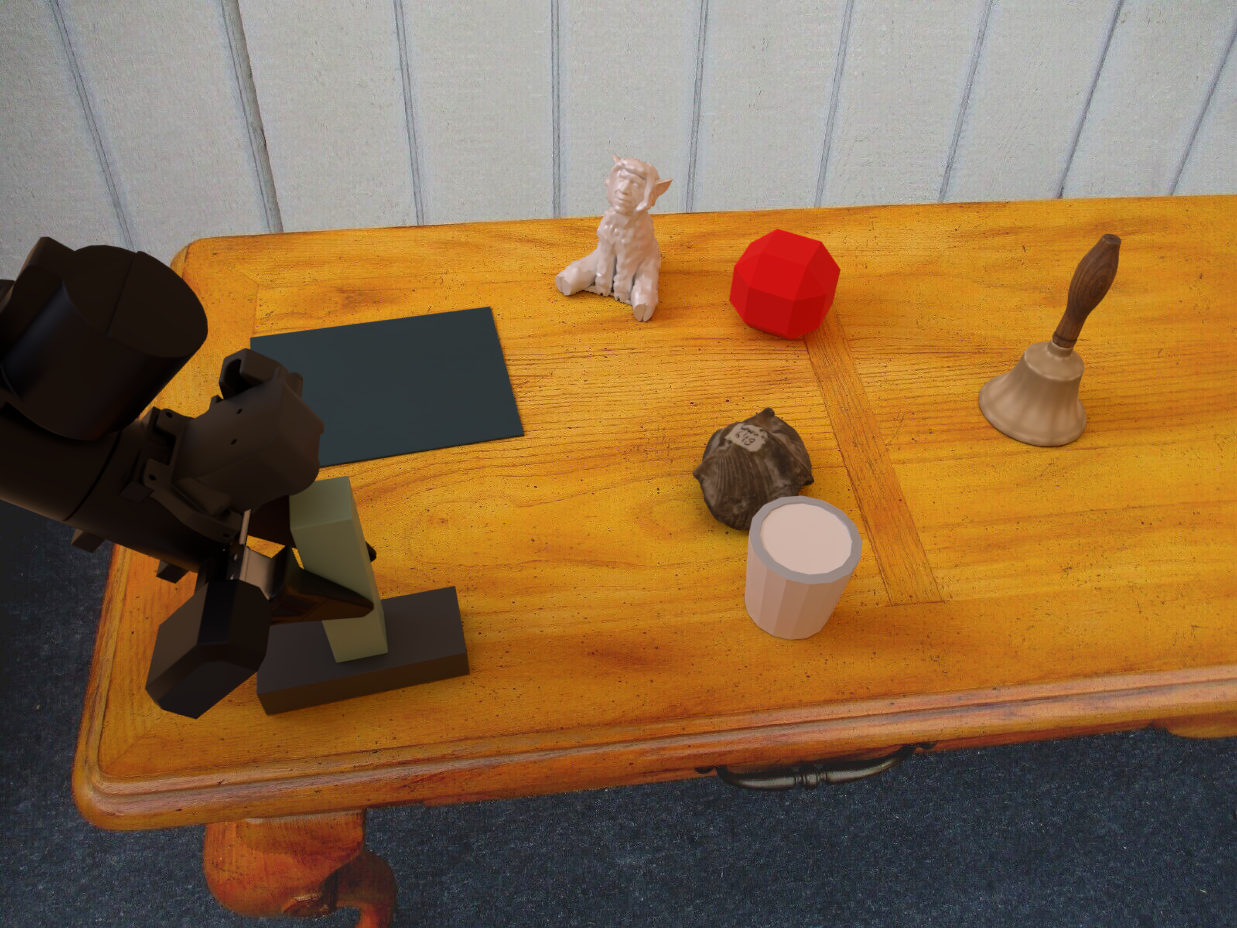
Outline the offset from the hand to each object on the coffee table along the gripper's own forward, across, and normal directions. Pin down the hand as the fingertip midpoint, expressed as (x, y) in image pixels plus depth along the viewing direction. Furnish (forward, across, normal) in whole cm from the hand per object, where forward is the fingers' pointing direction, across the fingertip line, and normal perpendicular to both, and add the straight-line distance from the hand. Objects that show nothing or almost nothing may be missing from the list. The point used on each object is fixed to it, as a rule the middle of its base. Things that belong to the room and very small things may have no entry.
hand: (371, 584), depth 53 cm
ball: (+28, +30, -17) cm, 45 cm away
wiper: (+4, 0, +6) cm, 8 cm away
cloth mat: (+4, +25, +6) cm, 26 cm away
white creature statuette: (+19, +37, -8) cm, 42 cm away
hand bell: (+41, +17, -30) cm, 53 cm away
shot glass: (+24, +1, -13) cm, 27 cm away
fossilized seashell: (+24, +11, -12) cm, 29 cm away
